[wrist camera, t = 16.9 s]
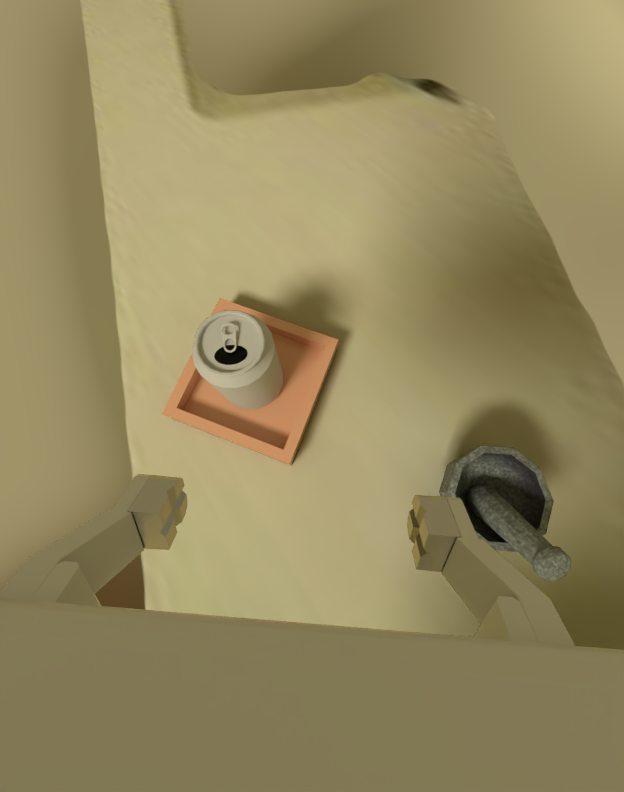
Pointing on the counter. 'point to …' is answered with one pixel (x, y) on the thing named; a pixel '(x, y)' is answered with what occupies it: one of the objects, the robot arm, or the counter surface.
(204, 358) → the can
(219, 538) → the counter surface
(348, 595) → the counter surface
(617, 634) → the counter surface
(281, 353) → the dish
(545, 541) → the mortar and pestle
